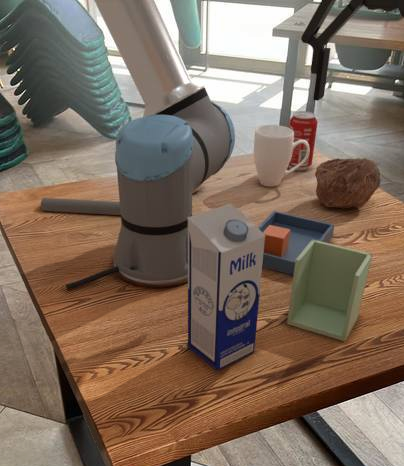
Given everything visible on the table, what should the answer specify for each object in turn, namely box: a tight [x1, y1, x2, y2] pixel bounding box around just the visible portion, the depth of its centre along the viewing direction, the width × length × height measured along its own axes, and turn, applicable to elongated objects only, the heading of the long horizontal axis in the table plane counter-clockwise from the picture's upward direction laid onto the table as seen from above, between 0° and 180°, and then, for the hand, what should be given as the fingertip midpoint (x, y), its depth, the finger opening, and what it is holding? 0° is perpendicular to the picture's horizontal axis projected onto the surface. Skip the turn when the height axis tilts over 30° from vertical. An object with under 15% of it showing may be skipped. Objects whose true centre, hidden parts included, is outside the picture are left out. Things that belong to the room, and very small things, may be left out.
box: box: [286, 239, 373, 342], centre depth 84 cm, size 7×9×11 cm
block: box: [263, 225, 290, 257], centre depth 101 cm, size 4×4×4 cm
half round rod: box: [40, 197, 121, 216], centre depth 116 cm, size 4×20×2 cm, turn 85°
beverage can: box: [287, 110, 319, 172], centre depth 133 cm, size 6×6×12 cm
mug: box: [253, 124, 310, 188], centre depth 125 cm, size 12×8×11 cm
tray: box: [256, 210, 335, 276], centre depth 104 cm, size 17×12×2 cm
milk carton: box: [187, 203, 266, 372], centre depth 75 cm, size 7×7×20 cm
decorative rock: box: [314, 157, 382, 210], centre depth 117 cm, size 13×11×10 cm
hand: (363, 105), depth 83 cm, fingers open, 13 cm apart
